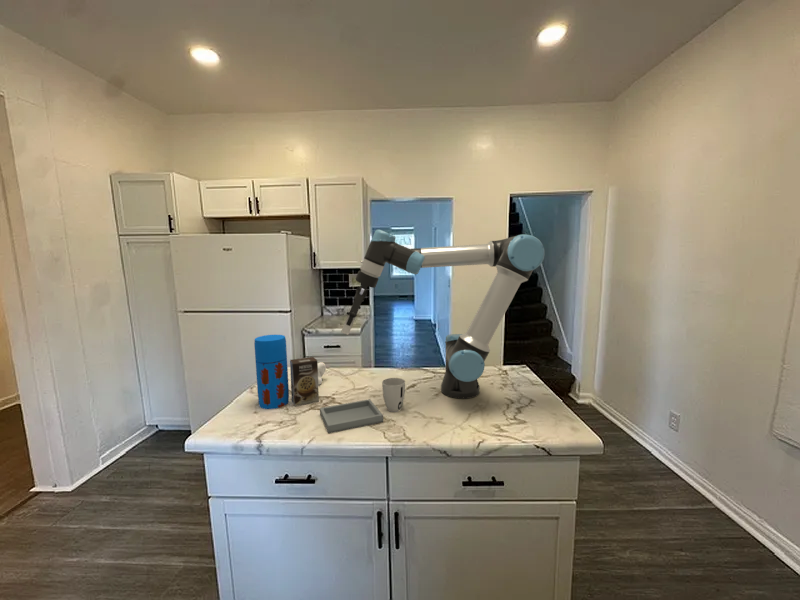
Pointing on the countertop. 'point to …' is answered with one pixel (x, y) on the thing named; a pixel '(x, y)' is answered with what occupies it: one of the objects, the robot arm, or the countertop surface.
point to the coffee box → (304, 381)
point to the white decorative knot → (321, 371)
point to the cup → (393, 393)
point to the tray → (350, 415)
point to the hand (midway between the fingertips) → (346, 328)
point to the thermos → (271, 371)
